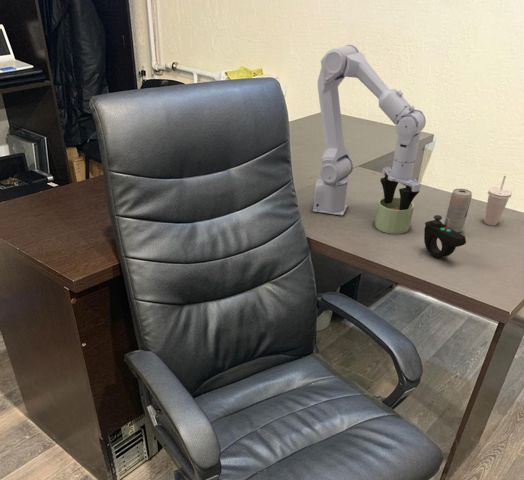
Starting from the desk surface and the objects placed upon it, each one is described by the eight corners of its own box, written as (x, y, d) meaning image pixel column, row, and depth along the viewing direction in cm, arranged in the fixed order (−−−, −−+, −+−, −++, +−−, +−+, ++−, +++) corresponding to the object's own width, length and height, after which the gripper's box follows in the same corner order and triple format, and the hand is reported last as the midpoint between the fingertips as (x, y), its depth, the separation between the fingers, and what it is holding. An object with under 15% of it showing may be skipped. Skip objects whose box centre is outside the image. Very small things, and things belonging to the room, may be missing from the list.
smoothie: (502, 220, 159) (517, 174, 150) (500, 228, 154) (516, 182, 146) (480, 216, 161) (494, 171, 152) (478, 224, 156) (491, 178, 148)
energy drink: (461, 229, 153) (472, 189, 146) (461, 237, 149) (472, 196, 142) (443, 227, 154) (453, 187, 147) (441, 234, 150) (451, 193, 143)
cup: (372, 230, 151) (376, 207, 147) (377, 217, 159) (380, 194, 155) (407, 236, 149) (412, 212, 145) (410, 222, 157) (415, 199, 152)
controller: (428, 245, 145) (436, 211, 139) (461, 265, 136) (472, 229, 130) (416, 249, 143) (424, 214, 137) (449, 268, 135) (459, 232, 128)
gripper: (376, 153, 146) (369, 200, 154) (409, 170, 136) (399, 219, 144) (397, 150, 148) (389, 196, 157) (430, 166, 138) (420, 215, 146)
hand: (395, 207), depth 151 cm, fingers open, 6 cm apart
